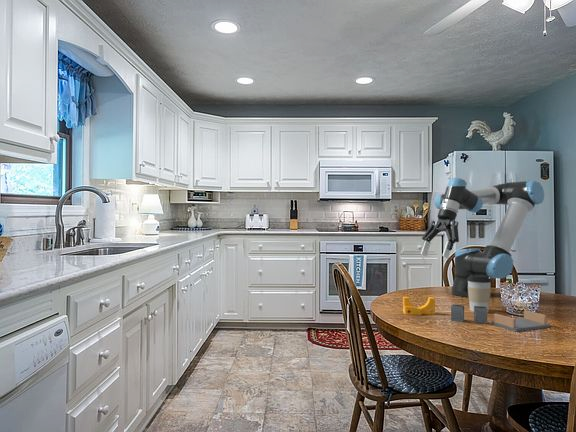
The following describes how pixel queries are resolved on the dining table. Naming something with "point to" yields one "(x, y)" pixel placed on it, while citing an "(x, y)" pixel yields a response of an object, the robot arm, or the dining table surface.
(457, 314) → the block
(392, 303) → the dining table surface
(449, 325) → the dining table surface
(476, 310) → the block
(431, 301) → the pipe clamp
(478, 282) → the coffee cup
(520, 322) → the end holder
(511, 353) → the dining table surface
